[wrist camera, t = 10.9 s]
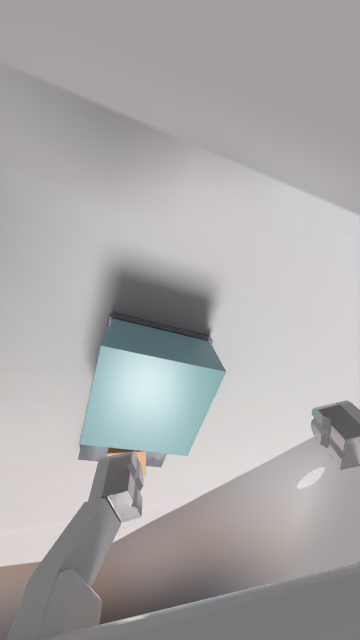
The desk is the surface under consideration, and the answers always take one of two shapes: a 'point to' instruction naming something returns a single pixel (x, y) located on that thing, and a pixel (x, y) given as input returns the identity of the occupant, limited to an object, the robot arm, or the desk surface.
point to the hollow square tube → (140, 454)
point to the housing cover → (150, 390)
